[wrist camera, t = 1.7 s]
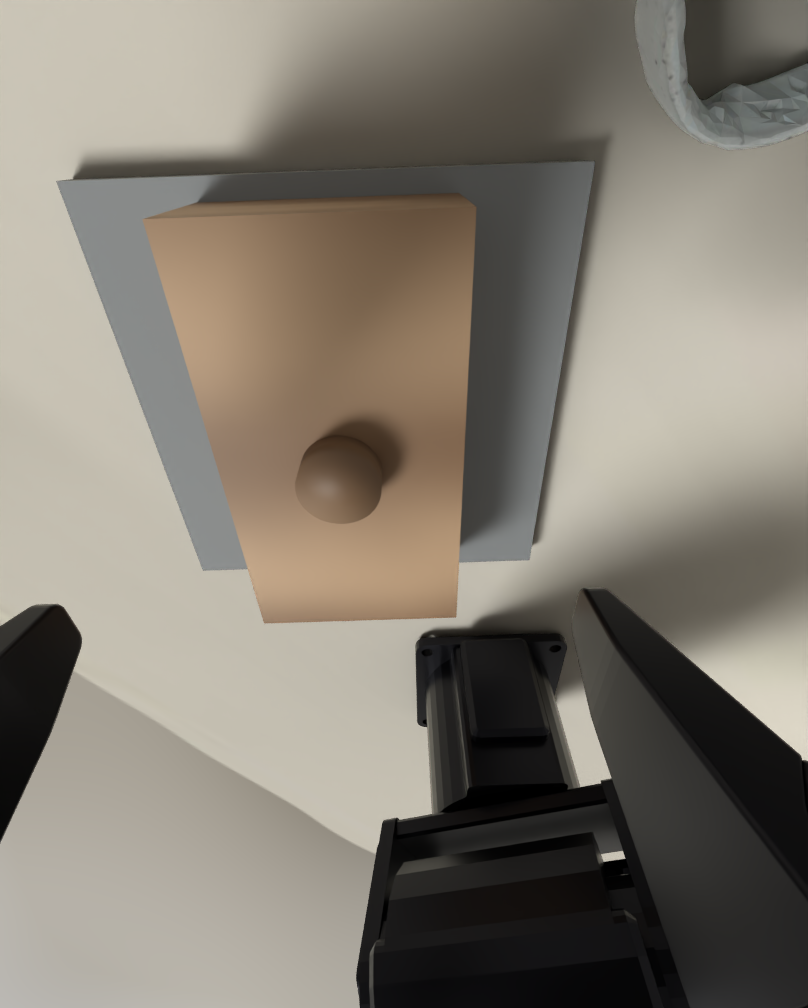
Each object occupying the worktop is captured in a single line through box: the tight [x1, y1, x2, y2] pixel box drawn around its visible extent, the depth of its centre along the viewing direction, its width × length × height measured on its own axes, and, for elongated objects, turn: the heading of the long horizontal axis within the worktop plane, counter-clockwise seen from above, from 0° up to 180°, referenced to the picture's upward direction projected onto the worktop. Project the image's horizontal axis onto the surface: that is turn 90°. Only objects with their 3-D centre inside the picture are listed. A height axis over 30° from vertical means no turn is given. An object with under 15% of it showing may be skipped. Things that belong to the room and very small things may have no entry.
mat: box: [56, 160, 595, 571], centre depth 15 cm, size 12×12×1 cm
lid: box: [142, 193, 477, 623], centre depth 13 cm, size 11×6×4 cm, turn 2°
